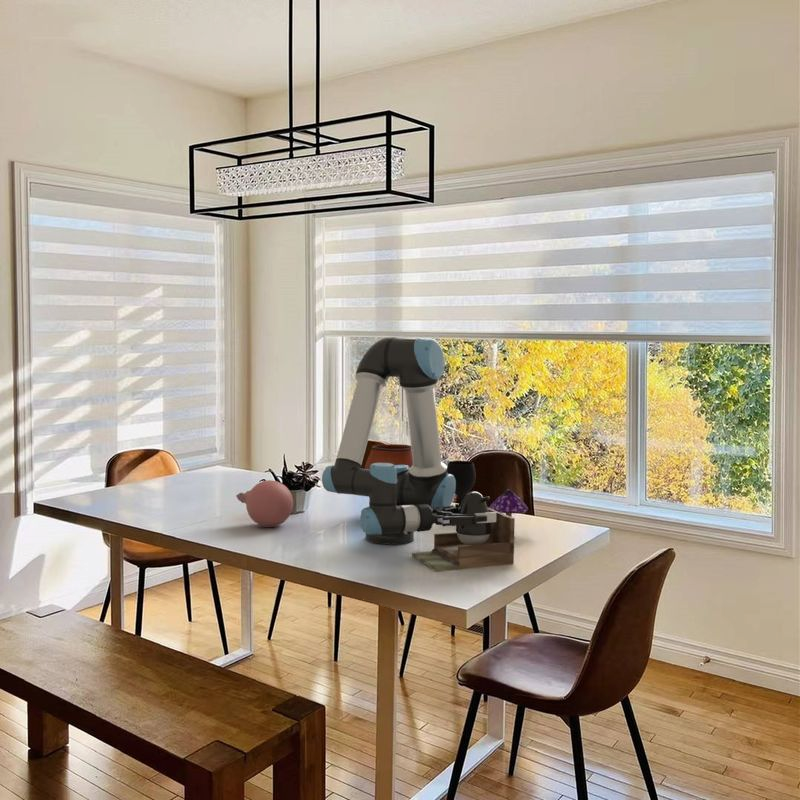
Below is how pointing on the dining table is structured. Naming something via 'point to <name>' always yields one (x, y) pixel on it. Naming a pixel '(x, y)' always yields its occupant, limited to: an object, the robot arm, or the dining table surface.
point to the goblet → (390, 455)
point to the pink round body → (268, 503)
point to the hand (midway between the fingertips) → (487, 513)
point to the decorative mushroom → (509, 504)
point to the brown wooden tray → (472, 548)
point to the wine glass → (462, 477)
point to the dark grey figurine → (482, 530)
